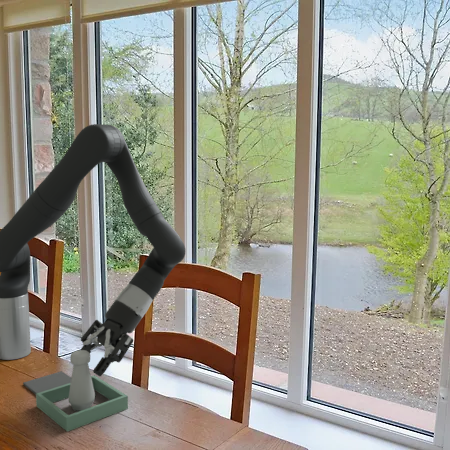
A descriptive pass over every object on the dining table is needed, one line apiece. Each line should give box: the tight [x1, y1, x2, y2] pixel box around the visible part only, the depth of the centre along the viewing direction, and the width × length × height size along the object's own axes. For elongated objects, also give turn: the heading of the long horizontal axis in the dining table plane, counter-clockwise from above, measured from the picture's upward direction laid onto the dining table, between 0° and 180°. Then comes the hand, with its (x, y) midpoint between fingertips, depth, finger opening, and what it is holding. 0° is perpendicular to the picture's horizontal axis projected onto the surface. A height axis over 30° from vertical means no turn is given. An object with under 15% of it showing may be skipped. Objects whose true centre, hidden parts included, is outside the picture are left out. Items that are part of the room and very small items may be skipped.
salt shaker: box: [67, 349, 96, 412], centre depth 122 cm, size 6×6×13 cm
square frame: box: [35, 374, 129, 432], centre depth 123 cm, size 15×15×3 cm
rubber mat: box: [22, 370, 72, 396], centre depth 134 cm, size 10×10×1 cm
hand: (86, 368), depth 123 cm, fingers open, 8 cm apart
